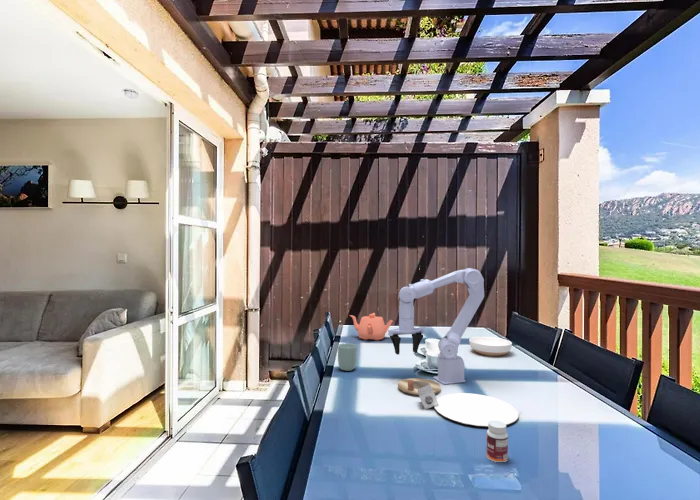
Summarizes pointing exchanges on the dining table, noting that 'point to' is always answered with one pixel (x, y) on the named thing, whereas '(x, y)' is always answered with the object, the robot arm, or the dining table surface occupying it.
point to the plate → (475, 409)
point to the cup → (347, 356)
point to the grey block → (427, 396)
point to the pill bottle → (497, 441)
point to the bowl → (490, 345)
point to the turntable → (417, 385)
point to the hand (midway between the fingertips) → (406, 353)
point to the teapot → (371, 327)
